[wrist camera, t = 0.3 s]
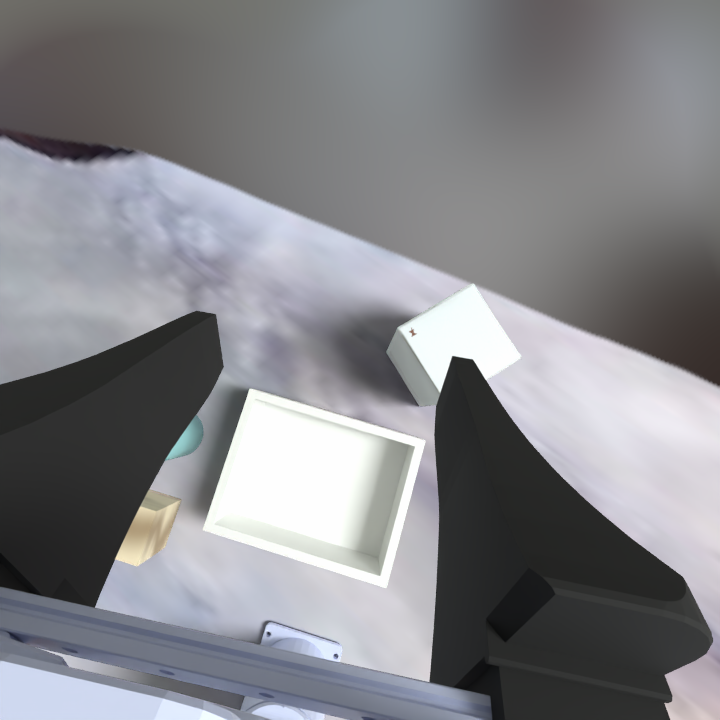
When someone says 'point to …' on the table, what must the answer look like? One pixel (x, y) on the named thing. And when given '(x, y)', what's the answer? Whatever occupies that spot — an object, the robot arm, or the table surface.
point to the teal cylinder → (188, 440)
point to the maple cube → (149, 528)
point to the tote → (316, 487)
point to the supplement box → (449, 343)
